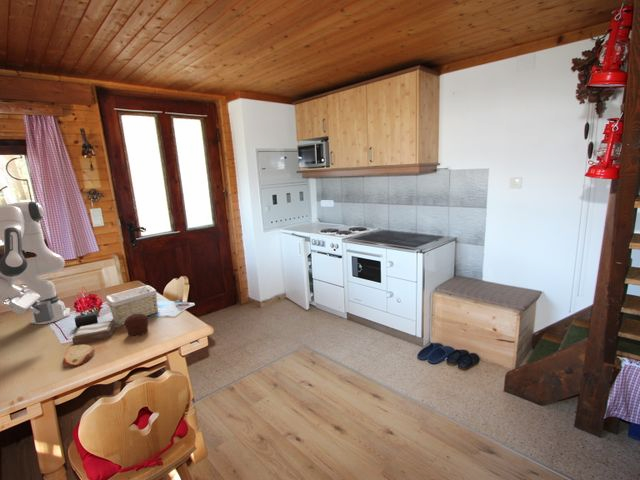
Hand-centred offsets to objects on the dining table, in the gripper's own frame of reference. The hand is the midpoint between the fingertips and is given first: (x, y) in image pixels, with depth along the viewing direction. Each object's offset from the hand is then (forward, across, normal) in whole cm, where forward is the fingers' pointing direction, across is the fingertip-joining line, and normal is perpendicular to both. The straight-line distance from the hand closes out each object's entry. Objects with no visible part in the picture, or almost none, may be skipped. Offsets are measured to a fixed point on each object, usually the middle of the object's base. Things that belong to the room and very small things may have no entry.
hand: (41, 310), depth 165 cm
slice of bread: (+25, -21, +3) cm, 33 cm away
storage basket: (+40, +19, -12) cm, 45 cm away
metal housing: (+4, 0, +4) cm, 5 cm away
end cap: (+22, +18, +5) cm, 29 cm away
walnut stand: (+27, 0, 0) cm, 27 cm away
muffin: (+42, -8, -15) cm, 46 cm away
